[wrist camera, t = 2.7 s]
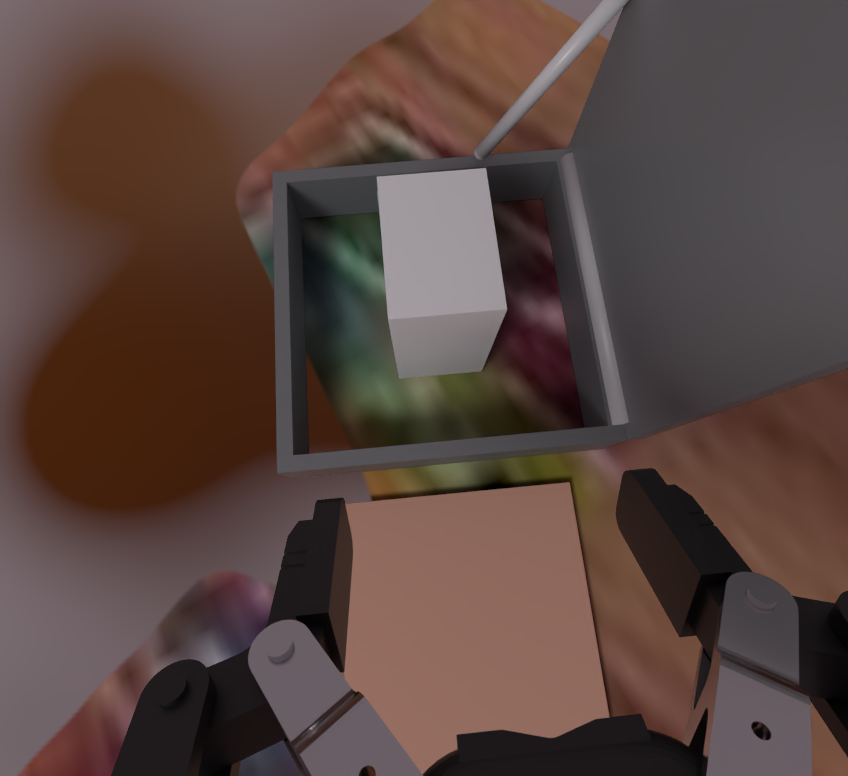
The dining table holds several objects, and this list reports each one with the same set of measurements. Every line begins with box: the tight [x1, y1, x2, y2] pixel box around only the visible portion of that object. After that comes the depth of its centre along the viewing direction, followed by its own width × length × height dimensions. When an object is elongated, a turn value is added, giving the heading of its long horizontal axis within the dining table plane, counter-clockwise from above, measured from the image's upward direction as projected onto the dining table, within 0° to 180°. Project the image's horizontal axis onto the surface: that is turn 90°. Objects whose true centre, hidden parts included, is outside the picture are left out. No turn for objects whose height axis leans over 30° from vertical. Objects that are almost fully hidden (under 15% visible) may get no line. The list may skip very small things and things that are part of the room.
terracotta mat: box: [344, 482, 609, 774], centre depth 25 cm, size 13×16×1 cm
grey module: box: [377, 168, 507, 379], centre depth 25 cm, size 5×7×9 cm
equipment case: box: [273, 0, 848, 478], centre depth 19 cm, size 18×18×21 cm
